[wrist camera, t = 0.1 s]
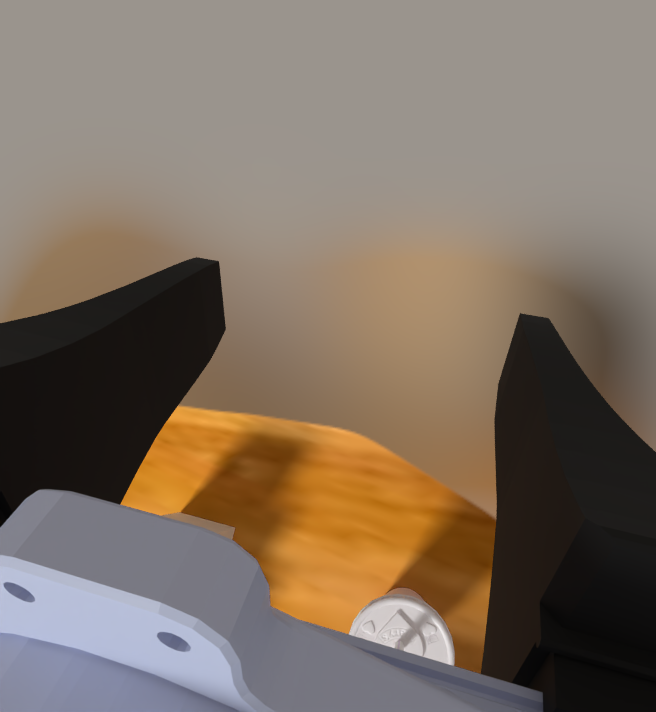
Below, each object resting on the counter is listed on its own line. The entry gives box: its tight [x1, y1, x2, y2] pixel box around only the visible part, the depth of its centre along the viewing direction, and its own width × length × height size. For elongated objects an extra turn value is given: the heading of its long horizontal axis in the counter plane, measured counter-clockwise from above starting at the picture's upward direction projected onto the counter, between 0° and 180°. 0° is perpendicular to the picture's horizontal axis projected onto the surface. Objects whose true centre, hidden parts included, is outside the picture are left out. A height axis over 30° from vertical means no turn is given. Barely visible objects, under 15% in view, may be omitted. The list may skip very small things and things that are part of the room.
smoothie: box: [349, 588, 455, 666], centre depth 34 cm, size 6×6×14 cm
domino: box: [162, 512, 235, 540], centre depth 40 cm, size 2×5×9 cm, turn 77°
